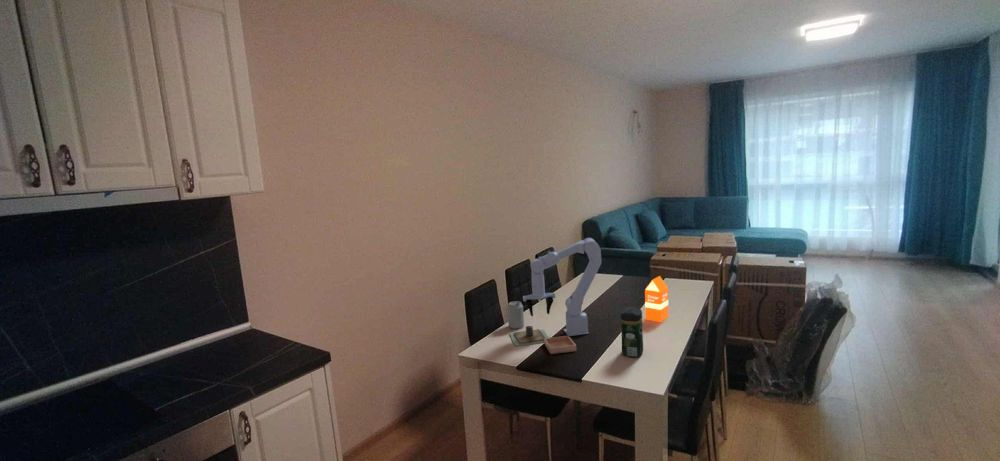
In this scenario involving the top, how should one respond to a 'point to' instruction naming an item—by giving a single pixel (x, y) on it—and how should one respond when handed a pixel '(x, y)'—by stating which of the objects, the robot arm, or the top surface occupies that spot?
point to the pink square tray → (560, 344)
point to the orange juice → (656, 300)
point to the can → (515, 315)
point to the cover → (529, 335)
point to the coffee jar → (632, 332)
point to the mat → (526, 343)
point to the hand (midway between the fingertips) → (539, 314)
